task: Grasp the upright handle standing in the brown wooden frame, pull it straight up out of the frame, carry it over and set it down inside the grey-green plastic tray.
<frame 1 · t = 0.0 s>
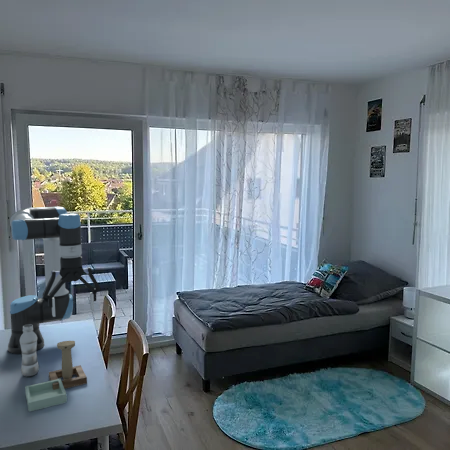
hand: (73, 312, 155), 28 cm above the table, fingers open, 13 cm apart
brown wooden frame: (67, 380, 161), on the table
tray: (45, 398, 148), on the table
plastic bottle: (30, 375, 166), on the table
handle: (67, 381, 161), resting in brown wooden frame
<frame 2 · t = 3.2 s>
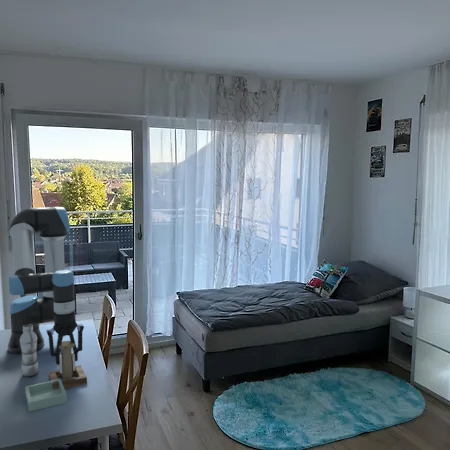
hand: (67, 370, 160), 4 cm above the table, fingers closed on handle, 4 cm apart
handle: (67, 381, 161), resting in brown wooden frame, touching gripper
everything else where it was.
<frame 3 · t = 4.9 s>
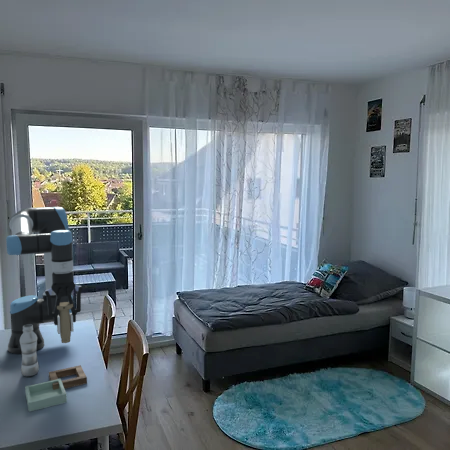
hand: (65, 331, 159), 19 cm above the table, fingers closed on handle, 4 cm apart
handle: (65, 342, 159), point 15 cm above the table, touching gripper
everything else where it was.
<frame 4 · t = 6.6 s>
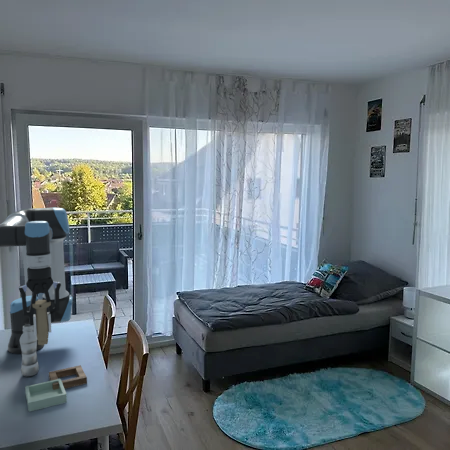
hand: (42, 332, 145), 24 cm above the table, fingers closed on handle, 4 cm apart
handle: (43, 344, 146), point 20 cm above the table, touching gripper
everything else where it was.
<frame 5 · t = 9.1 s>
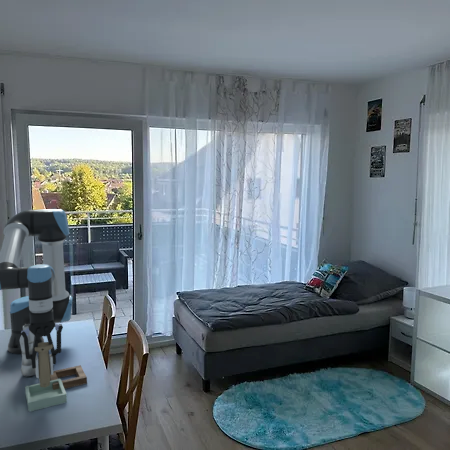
hand: (44, 374, 147), 9 cm above the table, fingers closed on handle, 4 cm apart
handle: (45, 386, 147), point 5 cm above the table, touching gripper
everything else where it was.
when the fingers open (6 cm above the table, at t = 10.1 s): handle drops 1 cm, resting on tray.
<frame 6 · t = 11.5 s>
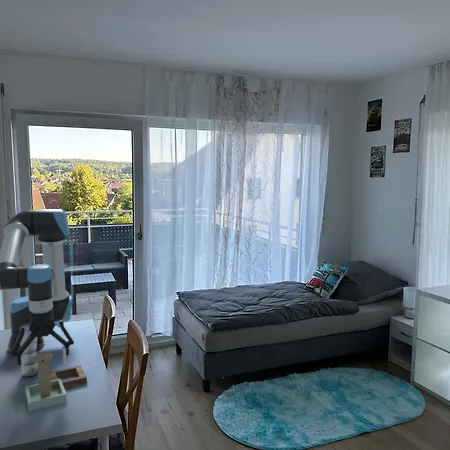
hand: (44, 368, 147), 11 cm above the table, fingers open, 13 cm apart
handle: (45, 397, 148), resting on tray
everything else where it was.
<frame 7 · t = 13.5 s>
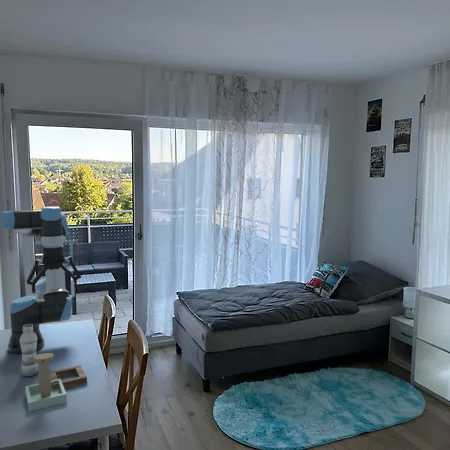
hand: (55, 298, 167), 30 cm above the table, fingers open, 13 cm apart
nothing on the table moved.
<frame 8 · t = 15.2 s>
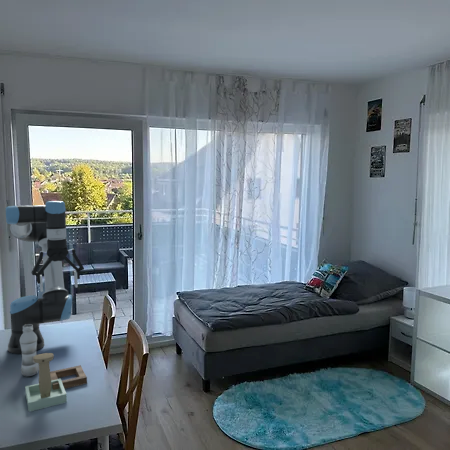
hand: (59, 289, 174), 32 cm above the table, fingers open, 13 cm apart
nothing on the table moved.
at the end: handle inside the target area on the tray (0.0 cm from its centre), point 0.4 cm above the tray's base; handle touching tray; the gripper is holding nothing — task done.
